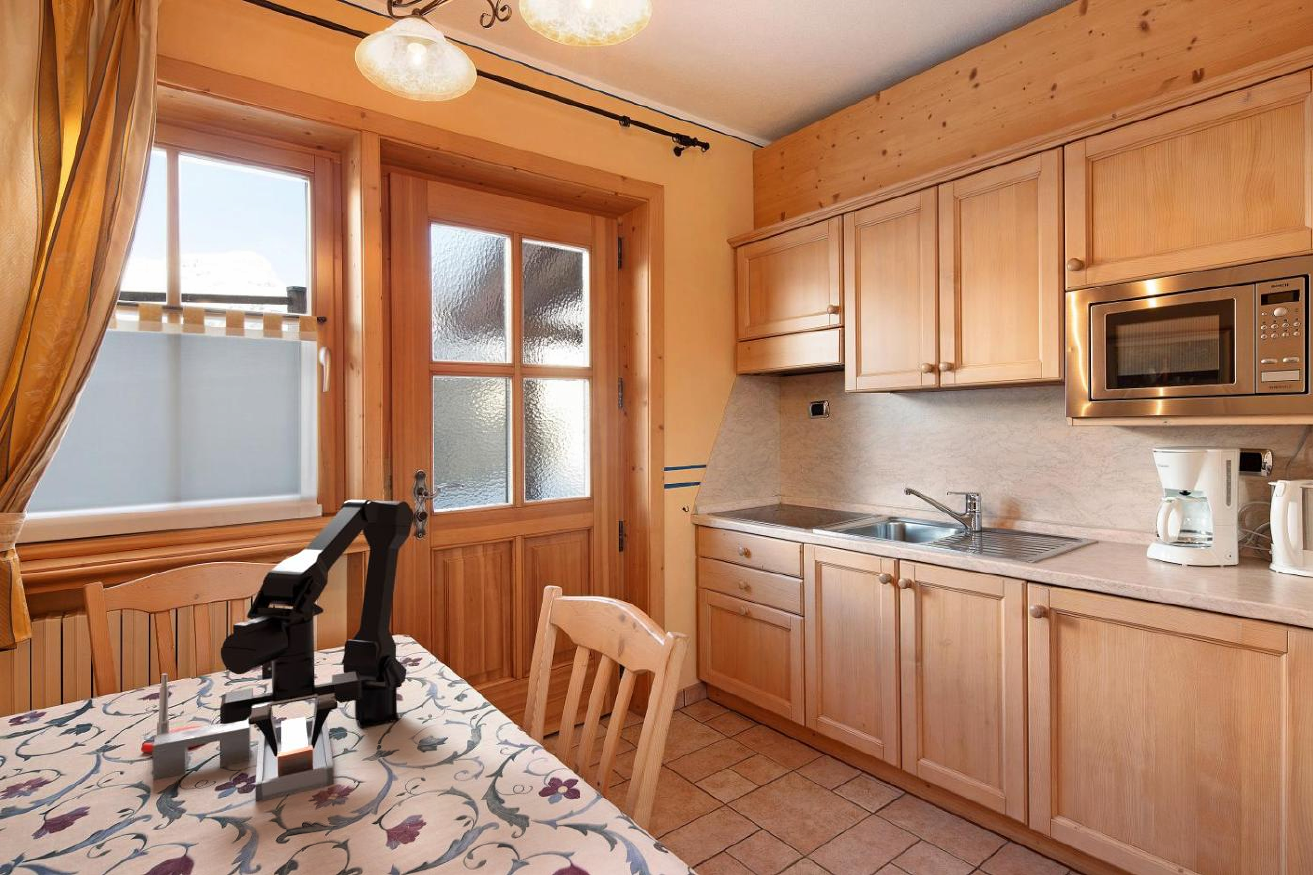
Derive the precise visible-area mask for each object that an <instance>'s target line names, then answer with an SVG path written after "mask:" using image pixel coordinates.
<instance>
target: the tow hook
mask: <svg viewBox="0 0 1313 875" xmlns="http://www.w3.org/2000/svg"><path fill="white" fill-rule="evenodd" d="M160 681H161V684H160V685H161V686H160V687H159V696H158V697H159V698H158V700H159V702H158V704H159V706H158V722H157V724H156V736H157V735H159V734H165V733H170V732H176V731H181V730H187V729H192V728H198V727H203V725H202V726H201V725H199V726H198V725H197V726H196V725H195V726H187V727H182V728H177V729H174V730H170V720H169V719H168V718H169V685H168V673H164V672H163V673H161V680H160ZM155 738H156V737H154V738H153V739H152V742H144V743H143V744H142V745H141V748H140V751H141V752H142V753H149V754H150V753H151V754H153V743H154V741H155ZM200 745H202V744H200ZM200 745H195V746H189V747H188V749H192V748H196V747H198V746H200Z"/></svg>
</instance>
